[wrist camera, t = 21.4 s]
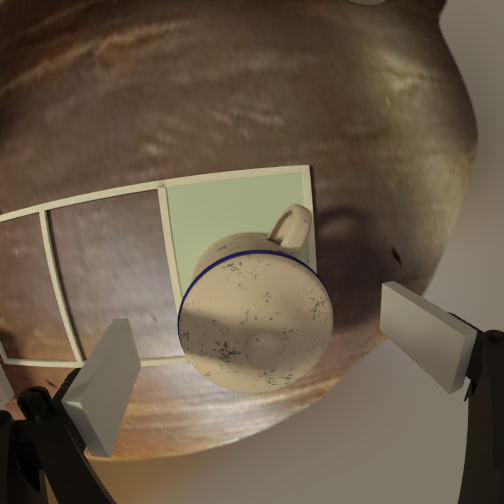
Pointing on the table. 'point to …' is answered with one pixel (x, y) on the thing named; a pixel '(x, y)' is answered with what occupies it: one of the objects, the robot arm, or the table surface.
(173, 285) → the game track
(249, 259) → the teacup with lid
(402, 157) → the table surface
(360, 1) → the reusable coffee cup
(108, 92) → the table surface
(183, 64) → the table surface
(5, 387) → the grey square box
